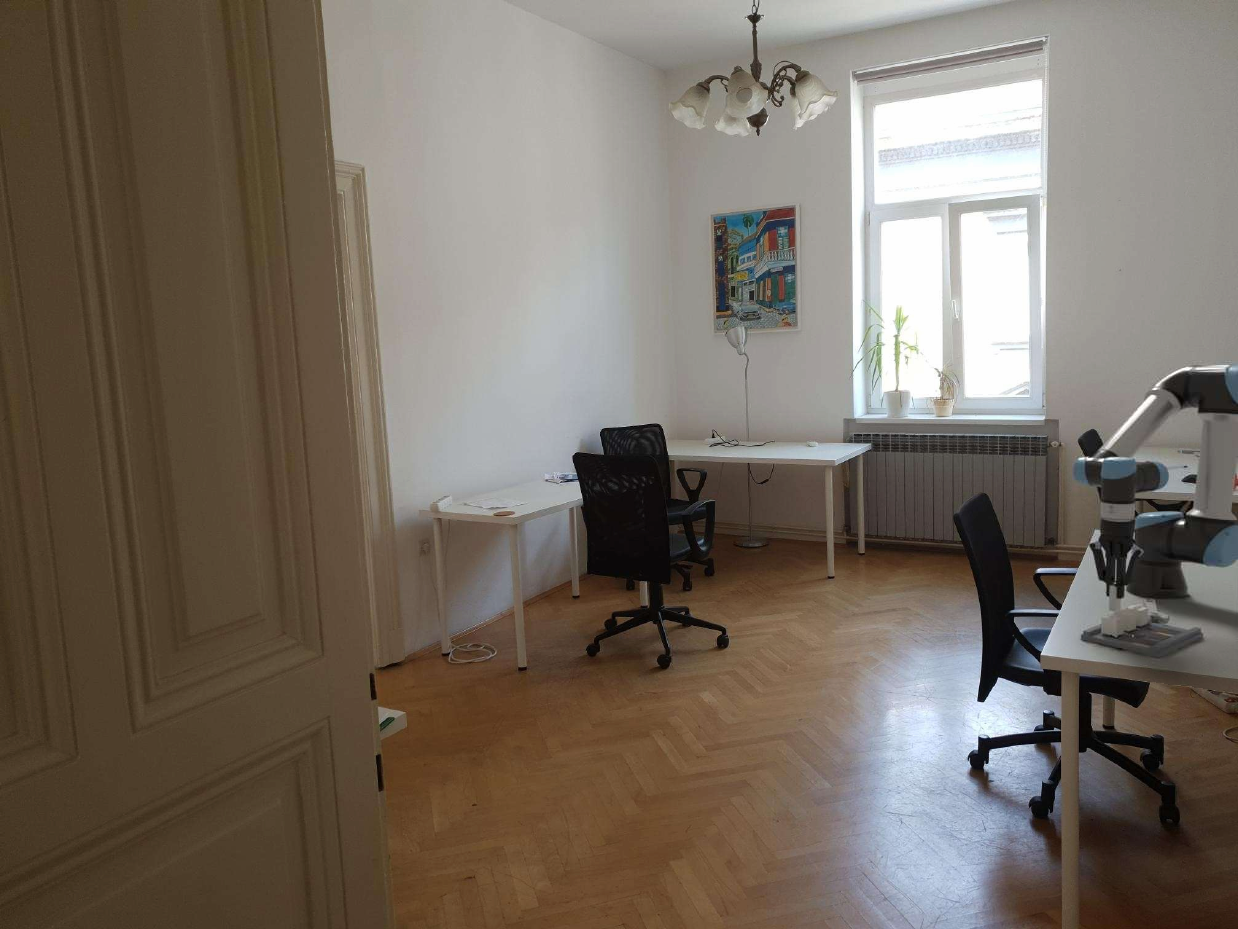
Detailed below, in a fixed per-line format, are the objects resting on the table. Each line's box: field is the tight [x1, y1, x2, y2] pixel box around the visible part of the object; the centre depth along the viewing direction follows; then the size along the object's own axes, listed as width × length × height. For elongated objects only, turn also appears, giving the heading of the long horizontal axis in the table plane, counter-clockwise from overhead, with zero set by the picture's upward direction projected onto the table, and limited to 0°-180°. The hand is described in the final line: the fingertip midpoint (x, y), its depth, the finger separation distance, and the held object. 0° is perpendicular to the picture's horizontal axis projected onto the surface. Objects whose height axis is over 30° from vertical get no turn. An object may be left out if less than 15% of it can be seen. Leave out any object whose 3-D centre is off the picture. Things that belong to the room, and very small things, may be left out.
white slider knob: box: [1113, 608, 1136, 631], centre depth 219 cm, size 4×4×5 cm
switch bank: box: [1080, 621, 1204, 659], centre depth 217 cm, size 22×18×2 cm
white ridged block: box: [1100, 613, 1124, 636], centre depth 216 cm, size 4×4×5 cm
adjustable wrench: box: [1142, 598, 1170, 625], centre depth 233 cm, size 25×6×2 cm, turn 148°
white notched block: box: [1125, 603, 1148, 626], centre depth 223 cm, size 4×4×5 cm
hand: (1114, 609), depth 227 cm, fingers closed
